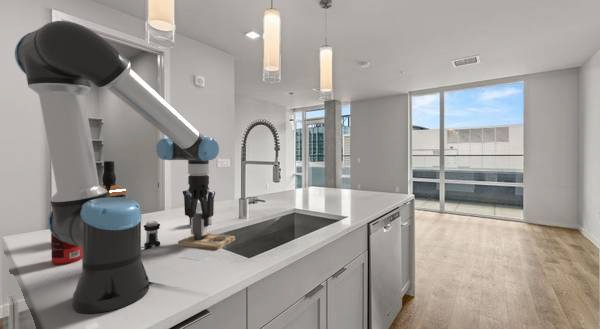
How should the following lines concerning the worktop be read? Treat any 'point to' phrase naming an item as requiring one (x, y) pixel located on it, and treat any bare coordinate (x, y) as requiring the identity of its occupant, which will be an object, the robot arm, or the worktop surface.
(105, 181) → the whiskey bottle
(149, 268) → the worktop surface
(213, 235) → the socket board
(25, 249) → the worktop surface
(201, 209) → the medicine bottle
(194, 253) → the deck pad
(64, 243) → the canned food
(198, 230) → the dark grey cylinder
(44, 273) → the worktop surface
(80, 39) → the robot arm
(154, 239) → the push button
